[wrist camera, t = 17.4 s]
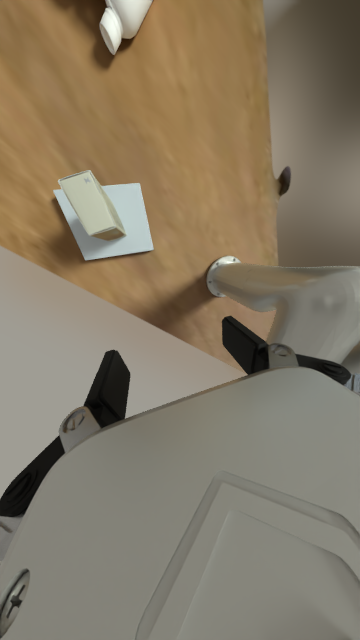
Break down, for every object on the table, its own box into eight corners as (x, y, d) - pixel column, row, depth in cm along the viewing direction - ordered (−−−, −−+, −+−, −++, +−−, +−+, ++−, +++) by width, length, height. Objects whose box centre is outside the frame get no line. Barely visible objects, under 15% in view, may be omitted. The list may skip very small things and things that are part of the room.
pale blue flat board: (140, 189, 28) (139, 182, 26) (153, 249, 34) (153, 249, 32) (62, 196, 26) (52, 190, 24) (90, 259, 32) (85, 260, 30)
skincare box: (92, 208, 26) (53, 175, 15) (112, 201, 26) (88, 164, 16) (110, 243, 29) (87, 236, 18) (128, 237, 29) (116, 227, 19)
